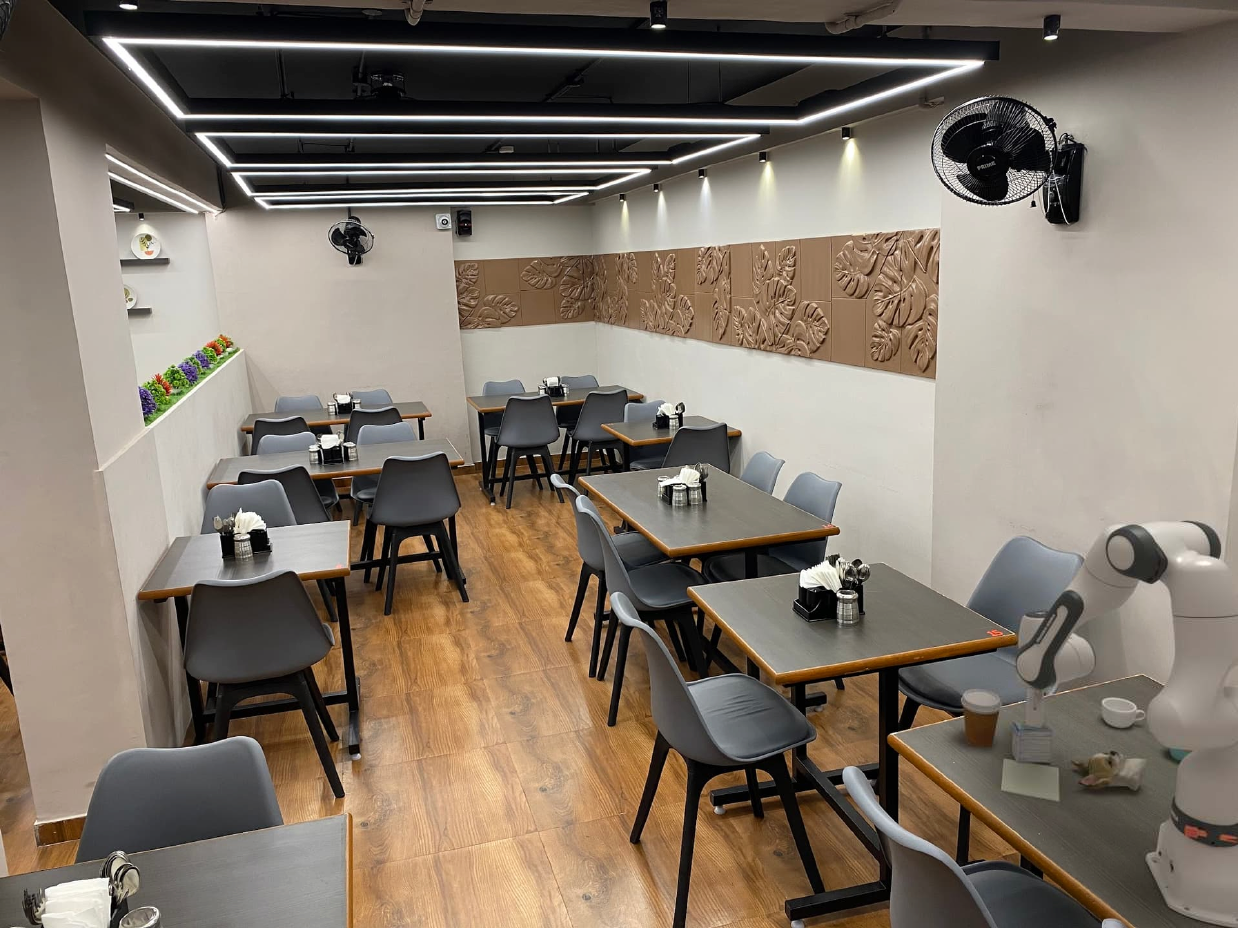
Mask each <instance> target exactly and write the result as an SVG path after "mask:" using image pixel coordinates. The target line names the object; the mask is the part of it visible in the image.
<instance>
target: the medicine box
mask: <svg viewBox="0 0 1238 928" xmlns="http://www.w3.org/2000/svg"><path fill="white" fill-rule="evenodd" d="M1012 723H1013V724H1012V739H1011V754H1012V755H1013V758H1014V760H1015V761H1017V762H1027V763H1052V750H1053V736H1054V730H1053V729H1052V728H1051V726H1050V725H1049V724H1048V723H1047V722H1046V721H1043V723H1042V727H1041V728H1036V727H1030V726H1027V725H1026V723H1025V721H1012Z"/></svg>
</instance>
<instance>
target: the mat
mask: <svg viewBox="0 0 1238 928" xmlns="http://www.w3.org/2000/svg"><path fill="white" fill-rule="evenodd" d="M1059 772H1060V771H1059V767H1055V766H1049V765H1044V764H1043V765H1042V764H1038V763H1037V764H1036V763H1033V762H1017V761H1016V759H1008V758H1003V763H1002V773H1001V788H1000V792H1005V793H1008V794H1016V795H1020V796H1026V797H1031V798H1036V799H1041V800H1047V801H1051V802H1056V803H1060V779H1059V778H1060V773H1059Z"/></svg>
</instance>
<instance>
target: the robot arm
mask: <svg viewBox="0 0 1238 928" xmlns="http://www.w3.org/2000/svg"><path fill="white" fill-rule="evenodd" d="M1221 555H1222V544H1221V541H1220V537H1219V536H1218V533H1216V531H1215V530H1214V529H1213V527H1211V526H1209V525H1208V524H1205V523H1202V522H1199V521H1195V520H1194V521H1193V520H1182V521H1163V520H1157V521H1156V520H1155V521H1148V522H1143V523H1138V524H1136V523H1135V524H1128V523H1127V524H1126V523H1116V524H1111V525H1109V526H1108V527H1106V528H1105V529H1104V530H1103V531H1102V533H1101V534H1099V536H1098V537H1097V539H1096V540H1095V541H1094V543H1093V544H1092V546H1091V547H1090V548H1089V551H1088V553H1087V554H1086V556H1085V559H1084V561H1083V563H1082V564H1081V567H1080V568H1079V570H1078V572H1077V573H1076V574H1075V576H1074V577H1073V579H1072V581H1071V582H1070V583H1069V584H1068V586H1067V587H1066V588H1065V590H1064V591H1063V592H1062V593H1061V594H1060V595H1059V596H1058V598H1057V599H1056V600H1055V602H1054V603H1053V604H1052V605H1051V607H1050V609H1049V610H1044V609H1043V610H1034V611H1033V610H1032V611H1029V612H1026V613H1025V614H1024V615H1023V616H1022V618H1021V620H1020V626H1019V630H1018V640H1017V642H1018V650H1017V654H1016V657H1015V669H1016V676H1015V678H1016V680H1017V682H1019V683H1020V685H1021V687H1022V688H1023V689H1024V690H1025V691H1026V702H1025V703H1026V705H1025V719H1024V720H1025V721H1024V722H1025V723H1026V725H1027V726H1030V727H1036V728H1041V727H1042V723H1043V722H1044V721H1043V719H1044V704H1045V693H1047V692H1050V691H1051V689H1052V688H1054V687H1055V686H1057V685H1058V684H1062V683H1066V682H1068V681H1069V682H1070V681H1072V680H1075V679H1079V678H1083V677H1085V676H1088V675H1090V674H1092V673H1093V672H1094V670H1095V668H1096V664H1097V656H1096V655H1097V654H1096V651H1095V649H1094V647H1093V646H1092V644H1091V643H1090V642H1089V641H1088V640H1087V639H1085V638H1084V637H1082V636H1080V635H1077V634H1075V633H1074V632H1075V631H1076V630H1077V629H1079V627H1081V626H1082V625H1084V624H1086V623H1087V622H1088V621H1091V620H1093V619H1096V618H1097V617H1100V616H1103V615H1105V614H1107V613H1110V612H1112V611H1114V610H1116V609H1119V608H1121V607H1122V606H1123V605H1124V604H1125V603H1126V602H1127V601H1128V600H1129V598H1130V597H1131V596H1133V593H1134V592H1135V590H1136V589H1137V586H1138V584H1139V582H1140V581H1141V582H1144V583H1146V584H1148V585H1154V584H1155V583H1157V582H1158V581H1160V582H1161V583H1162V584H1164V586H1165V587H1166V588H1167V589H1168V593H1169V597H1170V606H1171V607H1170V608H1171V615H1172V626H1173V637H1174V639H1173V640H1174V658H1173V659H1174V660H1173V665H1172V668H1171V671H1170V675H1169V677H1168V678H1167V679H1168V680H1167V681H1166V683H1165V685H1164V687H1163V688H1162V689H1161V690H1160V692H1159V693H1157V695H1156V696H1155V697H1154V698H1152V700H1151V701H1150V702H1149V704H1148V707H1147V711H1146V722H1147V727H1148V728H1149V730H1150V732H1151V734H1152V736H1153V737H1154V738H1155V739H1156V741H1158V742H1159V743H1160V744H1161V745H1163V747H1166V748H1168V749H1170V748H1173V749H1181V750H1191V751H1193V752H1191V753H1190V754H1188V755H1187V756H1186V757H1185V758H1184V759H1183V760H1182V761H1180V763H1179V765H1178V768H1177V775H1176V784H1175V795H1174V796H1173V797H1172V799H1171V800H1172V801H1171V803H1170V817H1169V818H1168V819H1167V820H1165V821H1164V822H1162V823H1160V826H1159V833H1158V838H1157V846H1156V850H1155V851H1152V852H1149V853H1147V854H1146V855H1145V861H1146V863H1147V866H1148V867H1149V870H1150V872H1151V874H1152V876H1153V878H1154V880H1155V883H1156V884H1157V886H1158V888H1159V890H1160V892H1161V895H1162V896H1163V898H1164V899H1163V900H1164V901H1165V903H1166V905H1167V906H1168V908H1169V909H1171V910H1173V911H1175V912H1177V913H1179V914H1181V915H1184V916H1186V917H1189V918H1192V919H1195V920H1198V921H1201V922H1204V923H1208V924H1211V925H1213V924H1214V925H1218V926H1222V927H1228V928H1238V684H1234V685H1225V684H1226V680H1227V677H1228V676H1229V674H1230V672H1231V671H1232V670H1233V669H1234V668H1235V667H1237V666H1238V593H1237V592H1238V591H1237V587H1236V585H1235V584H1236V583H1235V581H1234V578H1233V575H1232V572H1231V570H1230V567H1229V566H1228V565H1227V563H1226V562H1224V561H1223V560H1222V559H1220V558H1221Z"/></svg>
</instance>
